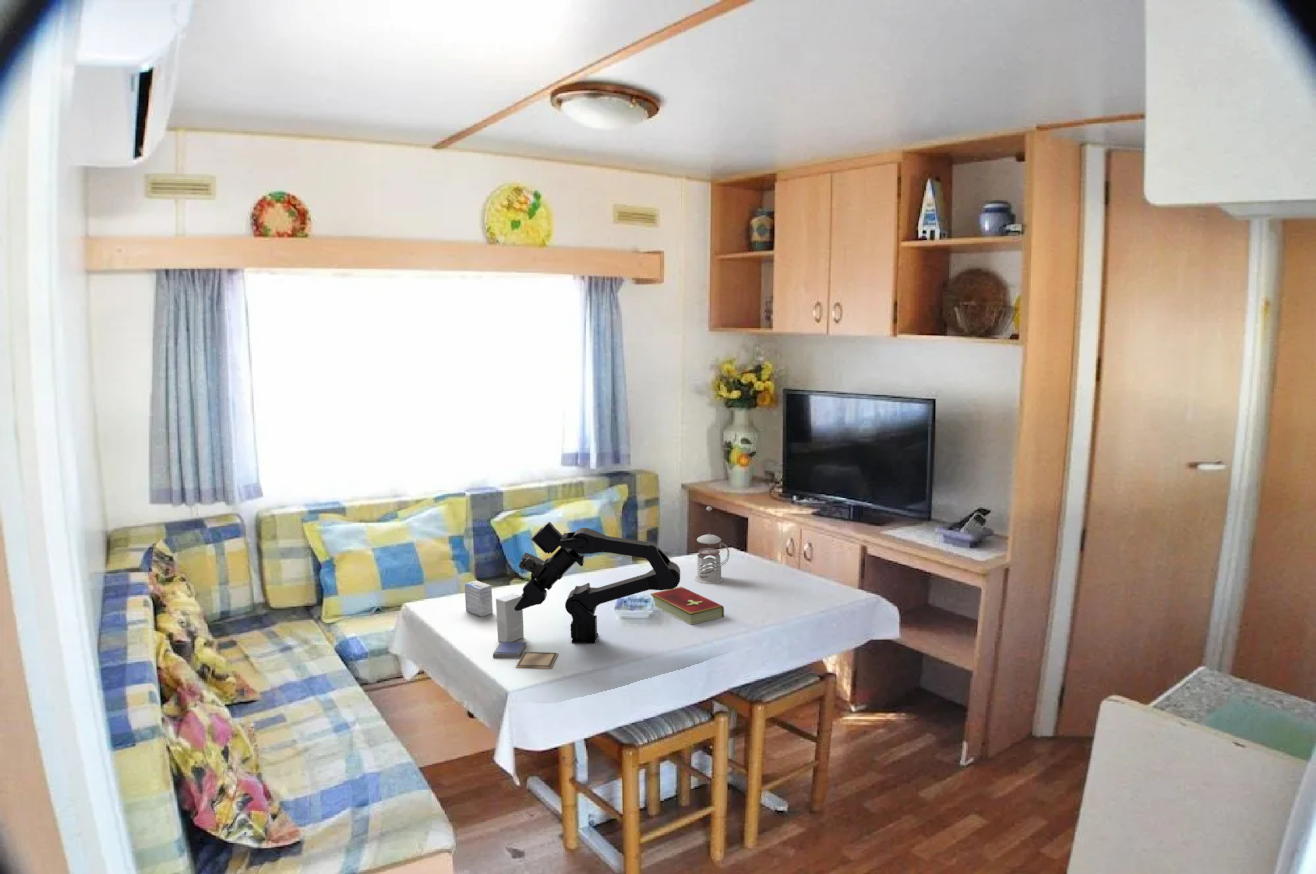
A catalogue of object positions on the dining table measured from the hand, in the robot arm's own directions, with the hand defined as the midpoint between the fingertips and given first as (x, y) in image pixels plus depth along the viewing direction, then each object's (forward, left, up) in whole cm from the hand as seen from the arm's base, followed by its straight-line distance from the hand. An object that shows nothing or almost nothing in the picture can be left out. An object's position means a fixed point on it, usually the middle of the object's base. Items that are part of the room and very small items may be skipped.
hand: (518, 604), depth 229 cm
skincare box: (+2, 0, -10) cm, 11 cm away
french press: (-52, -55, -10) cm, 76 cm away
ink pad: (0, +9, -10) cm, 13 cm away
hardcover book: (-45, -25, -11) cm, 52 cm away
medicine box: (+17, -20, -10) cm, 28 cm away
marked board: (-8, +14, -10) cm, 19 cm away
